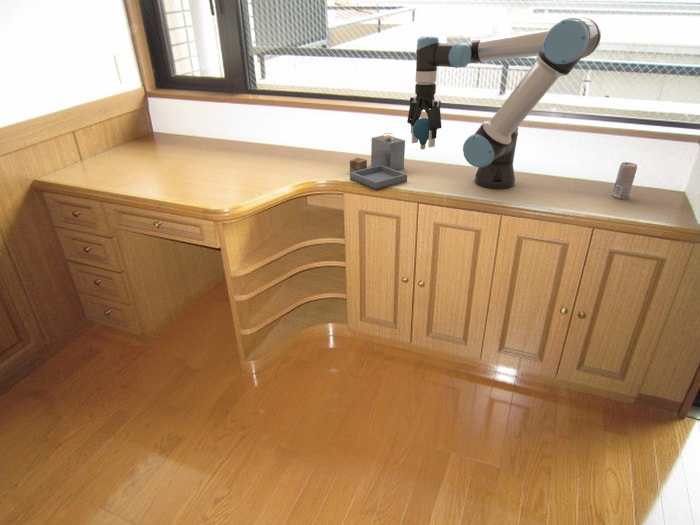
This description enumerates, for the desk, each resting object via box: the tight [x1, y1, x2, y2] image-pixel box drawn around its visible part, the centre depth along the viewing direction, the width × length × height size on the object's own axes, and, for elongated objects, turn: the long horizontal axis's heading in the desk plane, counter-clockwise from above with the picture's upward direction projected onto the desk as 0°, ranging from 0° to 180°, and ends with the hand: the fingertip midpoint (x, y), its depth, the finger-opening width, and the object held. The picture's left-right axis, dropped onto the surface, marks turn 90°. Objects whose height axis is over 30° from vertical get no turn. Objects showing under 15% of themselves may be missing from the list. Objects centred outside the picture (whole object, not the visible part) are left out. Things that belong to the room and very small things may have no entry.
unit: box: [370, 132, 406, 171], centre depth 206 cm, size 12×8×14 cm, turn 38°
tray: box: [349, 165, 408, 191], centre depth 193 cm, size 16×16×3 cm
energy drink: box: [612, 161, 638, 200], centre depth 174 cm, size 5×5×12 cm
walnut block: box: [349, 157, 368, 173], centre depth 203 cm, size 5×5×5 cm
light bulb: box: [413, 117, 431, 151], centre depth 188 cm, size 8×8×12 cm
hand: (422, 144), depth 189 cm, fingers closed on light bulb, 8 cm apart
